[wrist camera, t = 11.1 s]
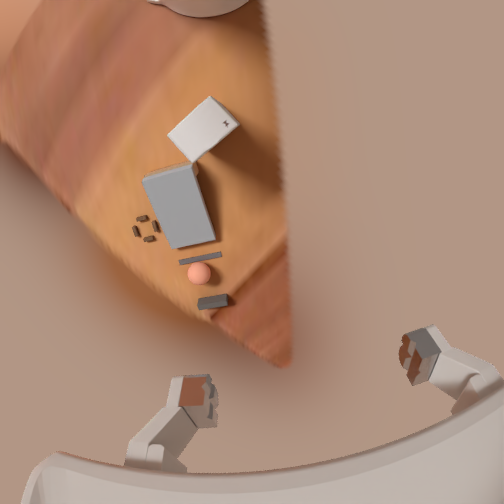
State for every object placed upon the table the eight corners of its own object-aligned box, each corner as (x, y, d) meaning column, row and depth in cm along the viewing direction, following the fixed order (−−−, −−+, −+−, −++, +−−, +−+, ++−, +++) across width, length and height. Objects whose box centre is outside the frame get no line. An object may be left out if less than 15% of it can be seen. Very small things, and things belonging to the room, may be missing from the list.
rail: (198, 298, 48) (197, 305, 46) (226, 293, 47) (226, 300, 46) (200, 303, 48) (199, 310, 46) (228, 298, 48) (227, 305, 46)
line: (178, 260, 44) (178, 260, 44) (220, 251, 44) (220, 252, 44) (180, 264, 45) (180, 264, 45) (221, 256, 44) (221, 256, 44)
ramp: (150, 171, 38) (140, 178, 34) (195, 159, 37) (190, 163, 33) (173, 245, 43) (167, 258, 39) (216, 236, 43) (213, 248, 39)
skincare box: (220, 102, 34) (211, 93, 23) (240, 124, 35) (240, 124, 25) (187, 131, 36) (165, 135, 25) (207, 152, 37) (193, 165, 26)
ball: (183, 273, 41) (186, 260, 44) (191, 291, 43) (193, 277, 46) (206, 268, 41) (207, 255, 44) (213, 287, 43) (213, 273, 46)
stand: (130, 219, 41) (129, 220, 40) (153, 213, 41) (152, 214, 40) (139, 242, 43) (137, 243, 42) (161, 236, 42) (160, 238, 42)
